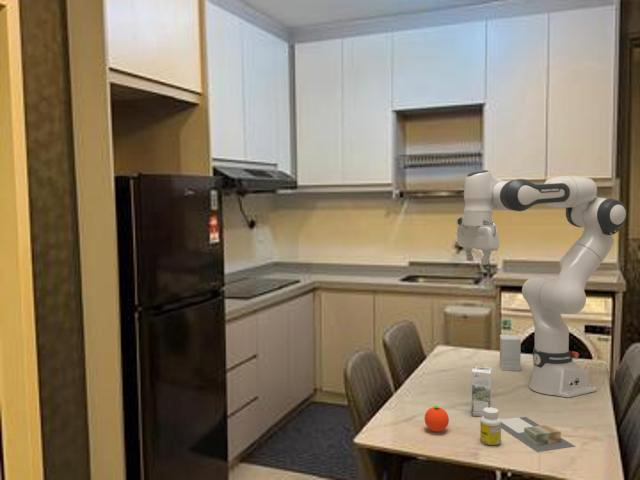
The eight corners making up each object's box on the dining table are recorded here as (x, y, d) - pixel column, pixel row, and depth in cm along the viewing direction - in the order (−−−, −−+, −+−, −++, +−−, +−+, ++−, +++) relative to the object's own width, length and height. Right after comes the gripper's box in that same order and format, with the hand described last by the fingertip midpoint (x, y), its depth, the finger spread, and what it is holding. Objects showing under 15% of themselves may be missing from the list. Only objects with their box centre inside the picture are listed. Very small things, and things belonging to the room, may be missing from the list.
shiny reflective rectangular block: (548, 434, 162) (548, 424, 161) (560, 442, 157) (560, 431, 157) (524, 438, 160) (524, 427, 159) (535, 445, 155) (535, 434, 155)
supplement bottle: (477, 441, 159) (477, 406, 159) (496, 440, 160) (496, 405, 159) (484, 449, 154) (484, 413, 153) (504, 448, 154) (504, 413, 154)
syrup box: (491, 412, 181) (491, 366, 180) (490, 418, 175) (490, 372, 174) (472, 410, 183) (472, 365, 182) (470, 416, 177) (471, 370, 176)
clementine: (422, 424, 171) (422, 401, 171) (445, 424, 171) (445, 401, 171) (426, 435, 163) (426, 411, 163) (450, 435, 163) (451, 411, 163)
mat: (525, 418, 175) (525, 416, 175) (575, 448, 154) (575, 446, 154) (490, 423, 172) (490, 420, 172) (537, 454, 151) (537, 451, 151)
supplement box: (518, 366, 230) (518, 335, 229) (520, 371, 223) (521, 339, 222) (499, 365, 232) (499, 334, 231) (500, 370, 225) (501, 338, 224)
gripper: (504, 221, 179) (503, 265, 180) (470, 219, 198) (470, 259, 199) (486, 221, 177) (485, 266, 178) (453, 219, 197) (453, 259, 198)
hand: (477, 262), depth 189 cm, fingers open, 8 cm apart
